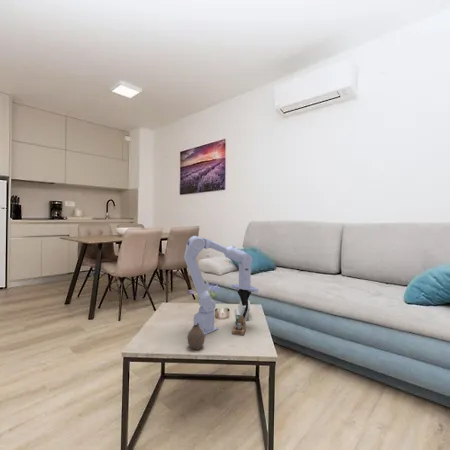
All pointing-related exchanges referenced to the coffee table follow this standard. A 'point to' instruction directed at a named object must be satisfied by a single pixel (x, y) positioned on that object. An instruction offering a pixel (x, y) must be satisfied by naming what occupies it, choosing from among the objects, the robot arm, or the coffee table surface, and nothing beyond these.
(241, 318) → the link
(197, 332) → the vase
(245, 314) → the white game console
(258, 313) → the coffee table surface
